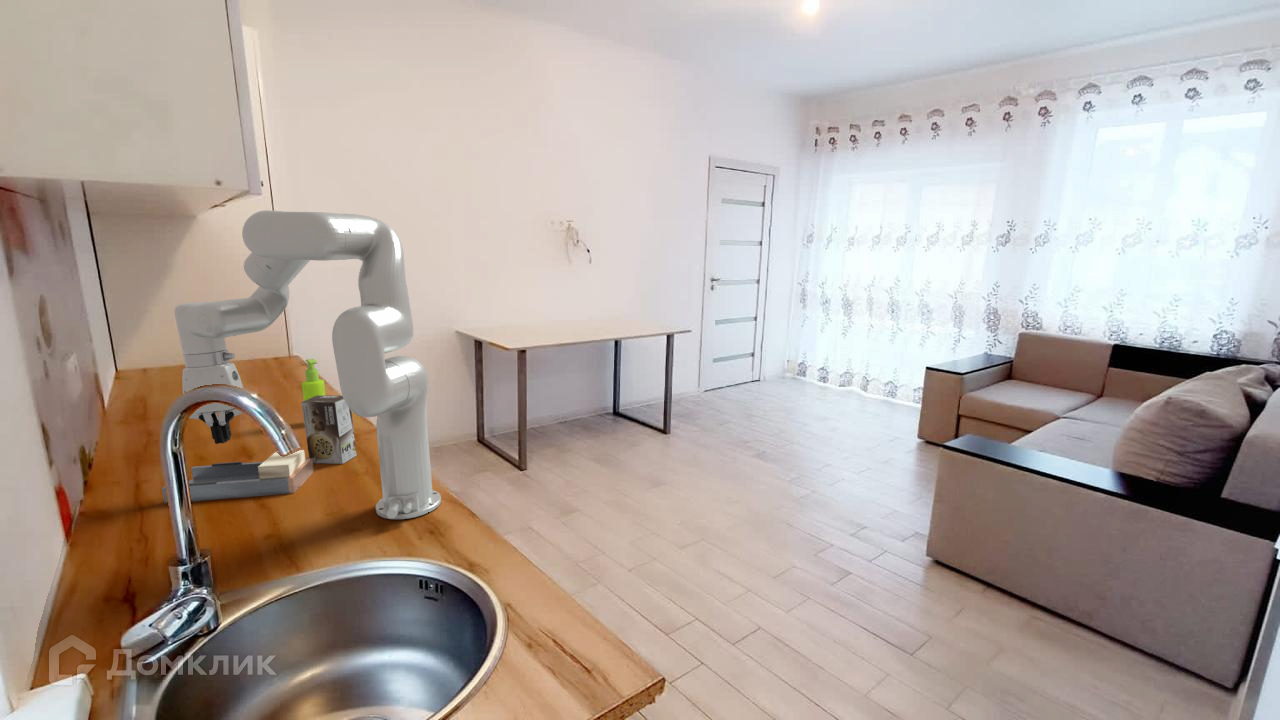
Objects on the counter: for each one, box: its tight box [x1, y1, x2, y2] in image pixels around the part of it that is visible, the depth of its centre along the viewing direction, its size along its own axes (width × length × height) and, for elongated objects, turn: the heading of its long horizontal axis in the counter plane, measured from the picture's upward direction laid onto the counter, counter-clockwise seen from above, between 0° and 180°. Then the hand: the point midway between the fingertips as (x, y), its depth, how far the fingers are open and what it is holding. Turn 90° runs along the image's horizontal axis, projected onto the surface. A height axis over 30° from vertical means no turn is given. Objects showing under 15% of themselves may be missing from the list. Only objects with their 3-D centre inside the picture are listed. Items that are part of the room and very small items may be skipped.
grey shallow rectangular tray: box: [161, 457, 315, 504], centre depth 127 cm, size 12×25×4 cm, turn 102°
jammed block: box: [258, 449, 306, 479], centre depth 129 cm, size 9×6×5 cm, turn 12°
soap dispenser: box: [301, 358, 327, 401], centre depth 171 cm, size 6×7×20 cm
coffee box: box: [300, 394, 357, 465], centre depth 142 cm, size 9×6×16 cm
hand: (223, 441), depth 125 cm, fingers closed
